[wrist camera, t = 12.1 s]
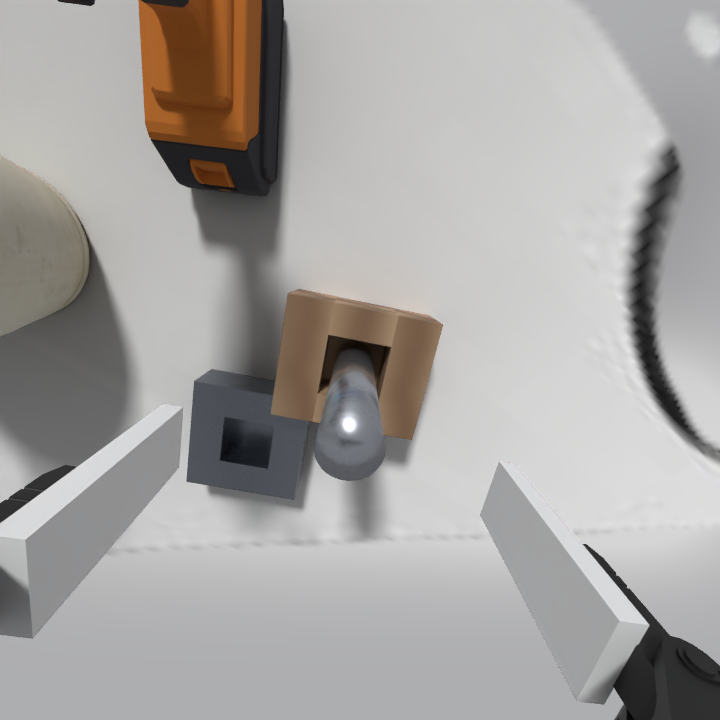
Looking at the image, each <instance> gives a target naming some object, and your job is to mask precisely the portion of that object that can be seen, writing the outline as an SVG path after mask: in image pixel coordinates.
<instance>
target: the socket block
mask: <svg viewBox="0 0 720 720" xmlns="http://www.w3.org/2000/svg"><path fill="white" fill-rule="evenodd" d="M274 387H275V381H272V380H267V379H262V378H256V377H251V376H246V375H240V374H235V373H230V372H224V371H219V370H214V369H211V370H210V371H208V372H207V373H205V374H204V375H202V376H201V377H200V378H198V379H197V380H195V381H194V391H193V404H192V417H191V430H190V443H189V456H188V469H187V482H192V483H198V484H203V485H209V486H215V487H221V488H227V489H233V490H239V491H245V492H251V493H257V494H263V495H269V496H275V497H281V498H287V499H293V500H294V497H295V494H296V490H297V486H298V483H299V479H300V475H301V469H302V463H303V458H304V452H305V447H306V441H307V435H308V430H309V424H310V421H305V420H300V419H294V418H289V417H283V416H278V415H272V414H271V407H272V400H273V394H274Z"/></svg>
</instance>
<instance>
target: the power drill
mask: <svg viewBox="0 0 720 720" xmlns="http://www.w3.org/2000/svg"><path fill="white" fill-rule="evenodd" d="M58 1H59V2H65V3H73V4H81V5H88V6H92V5H93V4H94V3H95V0H58ZM139 17H140V36H141V54H142V73H143V91H144V109H145V124H146V128H147V131H148V134H149V137H150V138H151V141H152V142H153V144H154V146H155V147H156V149H157V150H158V152H159V154H160V155H161V157H162V158H163V160H164V162H165V163H166V165H167V166H168V168H169V169H170V171H171V173H172V174H173V176H174V177H175V179H176V181H177V182H178V183H180V184H181V185H184V186H186V187H190V188H198V189H206V190H214V191H223V192H231V193H239V194H247V195H256V196H264V197H265V196H267V194H268V192H269V188H270V183H274V182H275V180H276V178H277V159H278V136H279V112H280V89H281V65H282V41H283V18H284V6H283V0H139Z"/></svg>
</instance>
